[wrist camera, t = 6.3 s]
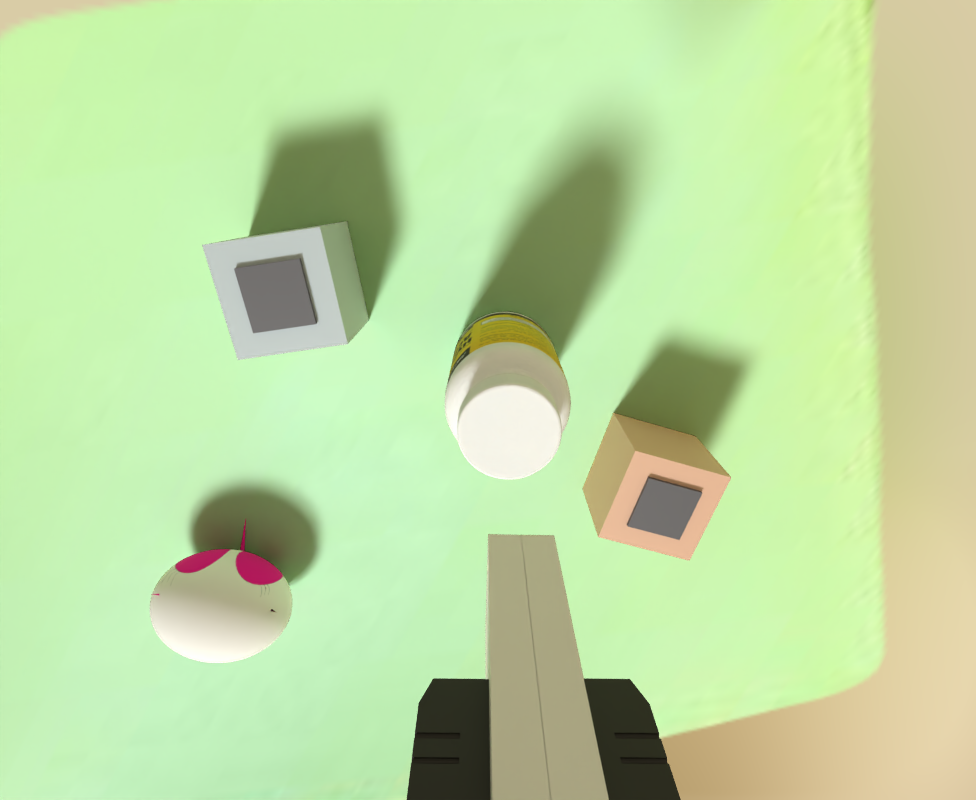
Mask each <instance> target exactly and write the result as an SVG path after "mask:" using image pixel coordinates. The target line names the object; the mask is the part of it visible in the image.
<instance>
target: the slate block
mask: <svg viewBox="0 0 976 800" xmlns="http://www.w3.org/2000/svg"><path fill="white" fill-rule="evenodd" d="M202 246H203V249H204V252H205V256H206V259H207V262H208V265H209V268H210V272H211V275H212V278H213V281H214V285H215V288H216V291H217V294H218V297H219V301H220V304H221V307H222V310H223V313H224V317H225V320H226V323H227V326H228V330H229V333H230V336H231V339H232V342H233V346H234V349H235V352H236V355H237V358H238V360H240V359H247V358H254V357H261V356H268V355H275V354H281V353H288V352H295V351H302V350H309V349H316V348H323V347H330V346H337V345H344V344H348V343H349V342H350V341H351V340H352V339H353V337H354V336H355V335H356V334H357V333H358V332H359V331H360V330H361V329H362V327H363V326H364V325H365V324H366V323H367V322H368V321H369V318H368V313H367V309H366V304H365V300H364V295H363V291H362V286H361V282H360V277H359V273H358V268H357V264H356V259H355V255H354V250H353V246H352V241H351V237H350V232H349V228H348V223H347V221H345V222H338V223H332V224H325V225H319V226H312V227H306V228H299V229H293V230H286V231H280V232H273V233H267V234H260V235H254V236H248V237H242V238H237V239H232V240H226V241H221V242H216V243H211V244H205V245H202Z"/></svg>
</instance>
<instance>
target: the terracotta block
mask: <svg viewBox="0 0 976 800" xmlns="http://www.w3.org/2000/svg"><path fill="white" fill-rule="evenodd" d="M730 479H731V477H730V475H729V474H728V473H727V472H726V471H725V470H724V468H723V467H722V466H721V465H720V464H719V463H718V461H717V460H716V459H715V458H714V457H713V456H712V455H711V453H710V452H709V451H708V450H707V449H706V448H705V446H704V445H703V444H702V443H701V442H700V441H699V439H698V438H697V437H696V436H693V435H690V434H686V433H682V432H679V431H675V430H672V429H668V428H665V427H661V426H658V425H654V424H651V423H647V422H644V421H640V420H637V419H633V418H630V417H626V416H623V415H619V414H616V413H613V415H612V417H611V420H610V422H609V425H608V427H607V430H606V432H605V435H604V437H603V439H602V442H601V444H600V447H599V449H598V452H597V454H596V457H595V459H594V462H593V464H592V467H591V469H590V471H589V474H588V476H587V479H586V481H585V484H584V486H583V492H584V495H585V498H586V501H587V504H588V507H589V510H590V513H591V516H592V519H593V522H594V525H595V528H596V531H597V534H598V537H601V538H605V539H608V540H612V541H616V542H620V543H624V544H628V545H632V546H635V547H639V548H643V549H647V550H651V551H655V552H659V553H662V554H666V555H670V556H674V557H678V558H682V559H685V560H690V558H691V556H692V554H693V552H694V551H695V549H696V547H697V545H698V543H699V541H700V539H701V537H702V535H703V533H704V531H705V529H706V527H707V525H708V523H709V521H710V519H711V517H712V515H713V513H714V511H715V509H716V507H717V505H718V503H719V501H720V499H721V497H722V495H723V493H724V491H725V489H726V487H727V485H728V483H729V481H730Z"/></svg>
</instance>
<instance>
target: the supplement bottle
mask: <svg viewBox="0 0 976 800" xmlns="http://www.w3.org/2000/svg"><path fill="white" fill-rule="evenodd" d="M570 406H571V400H570V392H569V387H568V383H567V380H566V377H565V375H564V372H563V370H562V367H561V365H560V362H559V359H558V357H557V354H556V351H555V349H554V346H553V344H552V342H551V340H550V338H549V336H548V335H547V333H546V332H545V330H544V329H543V328H542V327H541V326H540V325H539V324H538V323H536V322H535V321H534V320H532V319H531V318H529V317H527V316H525V315H522V314H519V313H514V312H496V313H491V314H488V315H485V316H483V317H481V318H479V319H477V320H475V321H474V322H473V323H472V324H470V325H469V326H468V327H467V328H466V329H465V331H464V332H463V333H462V335H461V337H460V338H459V340H458V343H457V345H456V348H455V351H454V356H453V361H452V365H451V370H450V375H449V379H448V383H447V387H446V393H445V413H446V418H447V422H448V425H449V427H450V429H451V431H452V433H453V434H454V436H455V437H456V439H457V440H458V443H459V446H460V449H461V451H462V453H463V455H464V456H465V458H466V459H467V461H468V462H469V463H470V464H471V465H472V466H473V467H475V468H476V469H477V470H479V471H480V472H482V473H484V474H486V475H489V476H492V477H494V478H500V479H518V478H523V477H526V476H529V475H531V474H533V473H535V472H537V471H539V470H541V469H542V468H543V467H544V466H546V465H547V464H548V463H549V462H550V461H551V459H552V458H553V457H554V455H555V454H556V452H557V450H558V447H559V445H560V441H561V436H562V433H563V431H564V429H565V427H566V425H567V422H568V419H569V414H570Z"/></svg>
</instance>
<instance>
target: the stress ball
mask: <svg viewBox="0 0 976 800" xmlns="http://www.w3.org/2000/svg"><path fill="white" fill-rule="evenodd" d="M245 526H246V519H245V525H244V531H243V537H242V543H241V549H240V550H233V549H216V550H209V551H204V552H200V553H197V554H194V555H192V556H189V557H187V558H185V559H183V560H181V561H180V562H178V563H177V564H175V565H174V566H173V567H171V568H170V569H169V570H168V571H167V572H166V573H165V574H164V575H163V576H162V577H161V579H160V580H159V582H158V583H157V585H156V587H155V588H154V591H153V594H152V597H151V601H150V617H151V622H152V625H153V627H154V629H155V631H156V633H157V635H158V636H159V637H160V639H161V640H162V641H163V642H164V643H165V644H166V645H167V646H168V647H169V648H171V649H172V650H174V651H175V652H177V653H179V654H180V655H182V656H185V657H187V658H190V659H193V660H196V661H202V662H209V663H225V662H233V661H238V660H242V659H245V658H248V657H250V656H253V655H255V654H257V653H259V652H261V651H262V650H264V649H265V648H267V647H268V646H270V645H271V644H272V643H273V642H274V641H275V640H276V639H277V638H278V637H279V636H280V635H281V633H282V632H283V630H284V629H285V627H286V625H287V623H288V621H289V618H290V615H291V611H292V594H291V590H290V587H289V585H288V583H287V581H286V579H285V577H284V576H283V574H282V573H281V572H280V571H279V570H278V569H277V568H276V567H275V566H274V565H273V564H271V563H270V562H269V561H267V560H265V559H264V558H262V557H260V556H257V555H255V554H252V553H249V552H245V551H244V550H245Z"/></svg>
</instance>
